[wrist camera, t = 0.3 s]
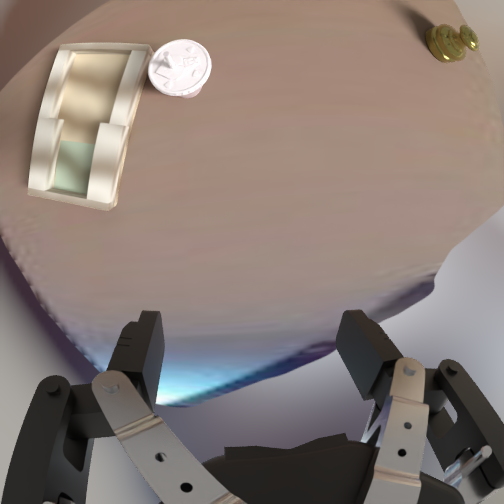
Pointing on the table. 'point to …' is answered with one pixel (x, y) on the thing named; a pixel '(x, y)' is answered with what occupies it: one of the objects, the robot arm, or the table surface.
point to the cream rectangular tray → (87, 122)
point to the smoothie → (180, 68)
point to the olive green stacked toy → (451, 42)
